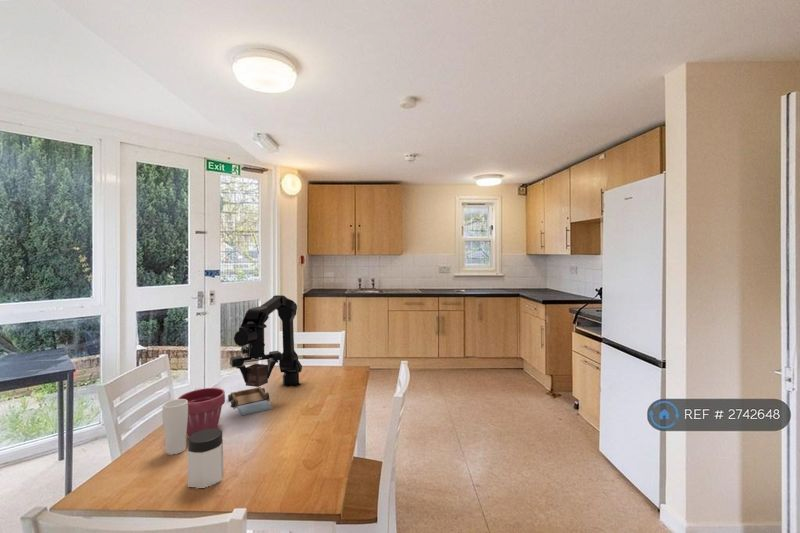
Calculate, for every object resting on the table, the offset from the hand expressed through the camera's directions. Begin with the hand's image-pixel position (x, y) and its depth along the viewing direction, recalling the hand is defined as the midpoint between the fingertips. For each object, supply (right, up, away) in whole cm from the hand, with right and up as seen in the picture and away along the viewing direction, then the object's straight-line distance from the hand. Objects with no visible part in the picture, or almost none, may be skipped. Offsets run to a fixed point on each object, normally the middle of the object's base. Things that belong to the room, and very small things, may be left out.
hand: (256, 380), depth 144 cm
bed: (-7, -11, +9) cm, 16 cm away
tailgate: (-1, -11, -1) cm, 11 cm away
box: (0, -2, 0) cm, 2 cm away
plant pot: (-11, -12, -19) cm, 25 cm away
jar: (+5, -12, -46) cm, 48 cm away
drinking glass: (-13, -12, -31) cm, 36 cm away
